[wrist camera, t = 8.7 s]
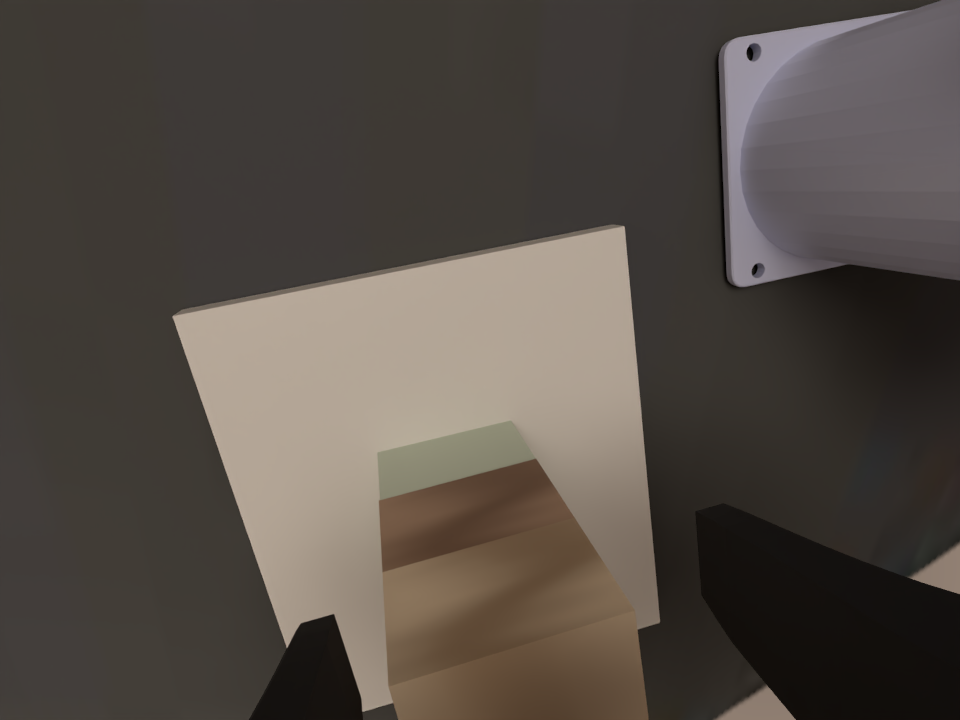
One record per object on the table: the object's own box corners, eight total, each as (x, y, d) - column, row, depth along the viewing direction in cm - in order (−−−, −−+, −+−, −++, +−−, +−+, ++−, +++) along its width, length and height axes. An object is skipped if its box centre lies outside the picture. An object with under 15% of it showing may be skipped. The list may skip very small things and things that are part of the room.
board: (611, 224, 20) (675, 232, 16) (648, 605, 24) (703, 686, 20) (182, 309, 18) (130, 343, 14) (316, 704, 23) (306, 813, 19)
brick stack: (536, 458, 17) (635, 610, 11) (558, 588, 18) (657, 787, 12) (378, 500, 16) (388, 686, 10) (414, 631, 17) (442, 862, 11)
